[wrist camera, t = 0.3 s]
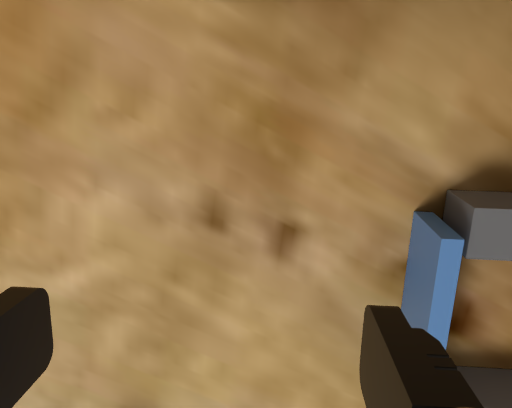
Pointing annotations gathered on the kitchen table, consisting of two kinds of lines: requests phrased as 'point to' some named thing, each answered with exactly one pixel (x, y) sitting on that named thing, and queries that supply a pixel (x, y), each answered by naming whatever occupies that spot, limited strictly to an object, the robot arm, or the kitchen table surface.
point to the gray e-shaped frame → (457, 272)
